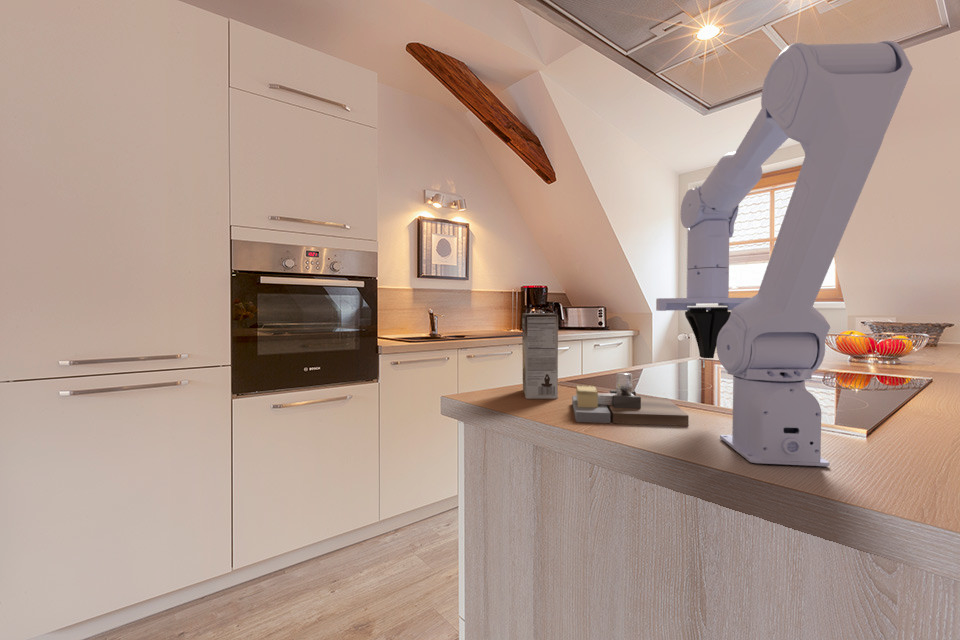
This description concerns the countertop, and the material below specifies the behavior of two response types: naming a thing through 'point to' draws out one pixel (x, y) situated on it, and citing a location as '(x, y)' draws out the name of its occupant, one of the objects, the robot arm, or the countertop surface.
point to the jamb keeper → (589, 406)
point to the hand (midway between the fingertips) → (706, 357)
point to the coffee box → (540, 355)
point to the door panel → (645, 411)
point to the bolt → (622, 389)
